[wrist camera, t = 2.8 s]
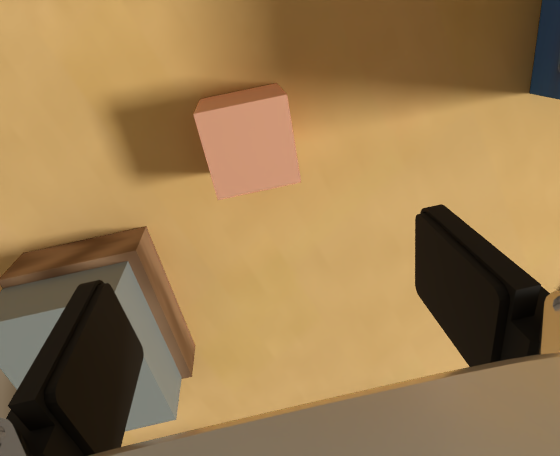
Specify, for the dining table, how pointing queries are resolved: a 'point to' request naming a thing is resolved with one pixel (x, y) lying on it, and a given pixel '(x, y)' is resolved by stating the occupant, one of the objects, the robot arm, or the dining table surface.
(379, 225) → the dining table surface
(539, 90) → the milk carton
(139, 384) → the slate top block
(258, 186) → the terracotta block
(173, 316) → the walnut base block
